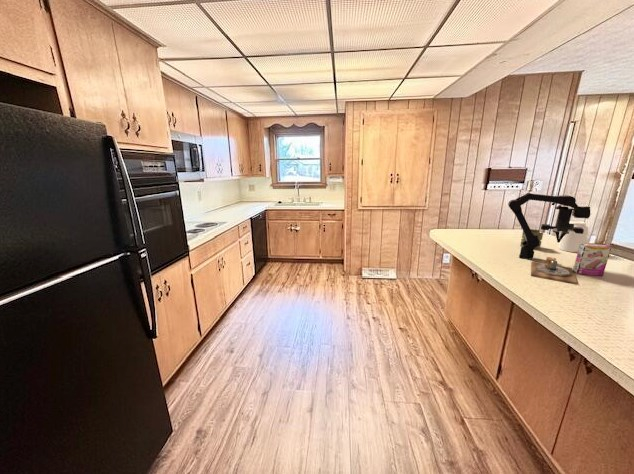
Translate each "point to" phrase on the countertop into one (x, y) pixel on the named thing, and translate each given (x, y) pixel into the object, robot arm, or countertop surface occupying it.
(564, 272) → the flange plate
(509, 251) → the countertop surface
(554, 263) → the post
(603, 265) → the candy bar box
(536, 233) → the olive green cube
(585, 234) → the white container
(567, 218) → the robot arm
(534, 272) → the walnut board
